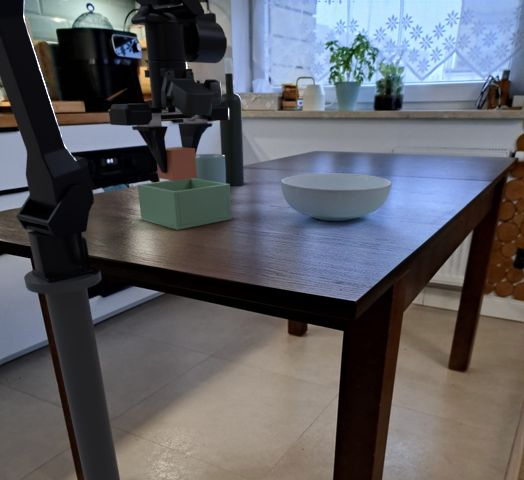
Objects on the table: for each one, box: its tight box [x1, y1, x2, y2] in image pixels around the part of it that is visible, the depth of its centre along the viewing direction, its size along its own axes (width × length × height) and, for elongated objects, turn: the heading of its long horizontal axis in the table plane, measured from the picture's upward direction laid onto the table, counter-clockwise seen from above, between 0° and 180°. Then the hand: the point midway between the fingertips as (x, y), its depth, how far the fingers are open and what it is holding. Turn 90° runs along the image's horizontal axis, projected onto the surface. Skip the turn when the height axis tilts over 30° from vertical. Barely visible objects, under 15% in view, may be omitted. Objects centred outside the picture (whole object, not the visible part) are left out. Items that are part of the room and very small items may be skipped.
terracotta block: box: [156, 146, 197, 181], centre depth 84 cm, size 4×4×4 cm
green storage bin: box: [136, 178, 232, 231], centre depth 100 cm, size 13×13×7 cm
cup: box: [195, 153, 226, 183], centre depth 115 cm, size 8×8×10 cm
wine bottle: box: [219, 57, 245, 187], centre depth 134 cm, size 6×6×30 cm
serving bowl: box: [280, 172, 393, 222], centre depth 100 cm, size 21×21×7 cm
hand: (177, 171), depth 84 cm, fingers closed on terracotta block, 4 cm apart
